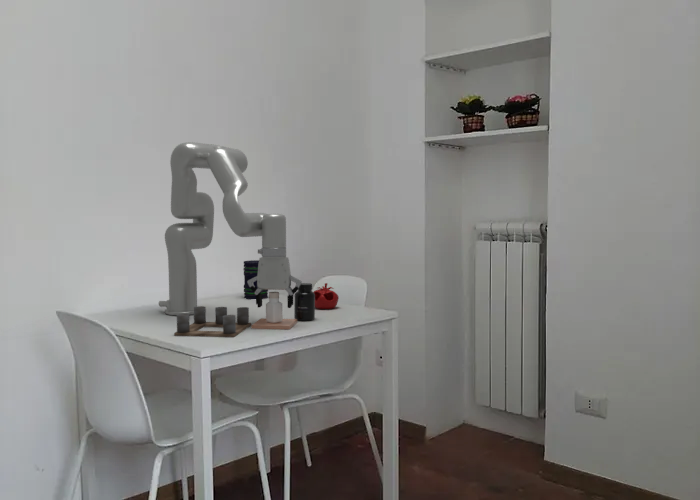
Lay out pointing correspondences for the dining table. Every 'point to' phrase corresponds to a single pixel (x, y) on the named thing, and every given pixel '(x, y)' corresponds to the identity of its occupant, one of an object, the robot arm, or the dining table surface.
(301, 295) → the supplement bottle
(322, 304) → the pomegranate
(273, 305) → the pepper shaker
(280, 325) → the terracotta tile
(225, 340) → the dining table surface
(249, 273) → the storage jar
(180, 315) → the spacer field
